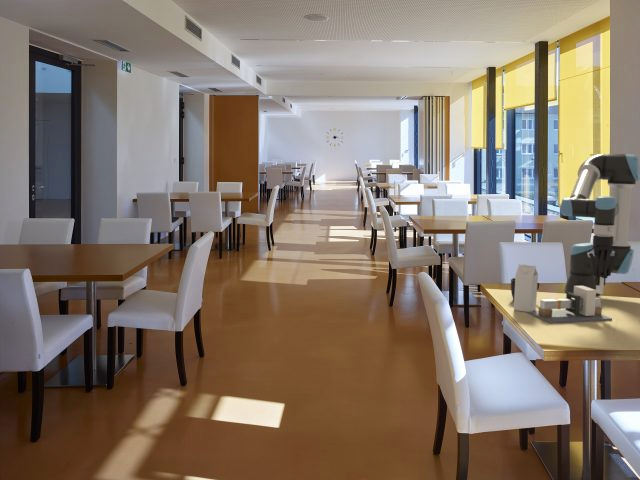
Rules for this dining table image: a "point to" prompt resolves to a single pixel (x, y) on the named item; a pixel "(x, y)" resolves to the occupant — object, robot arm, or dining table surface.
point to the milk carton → (525, 288)
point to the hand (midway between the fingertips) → (599, 293)
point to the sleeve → (586, 299)
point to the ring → (577, 303)
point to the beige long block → (563, 306)
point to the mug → (514, 287)
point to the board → (569, 317)
